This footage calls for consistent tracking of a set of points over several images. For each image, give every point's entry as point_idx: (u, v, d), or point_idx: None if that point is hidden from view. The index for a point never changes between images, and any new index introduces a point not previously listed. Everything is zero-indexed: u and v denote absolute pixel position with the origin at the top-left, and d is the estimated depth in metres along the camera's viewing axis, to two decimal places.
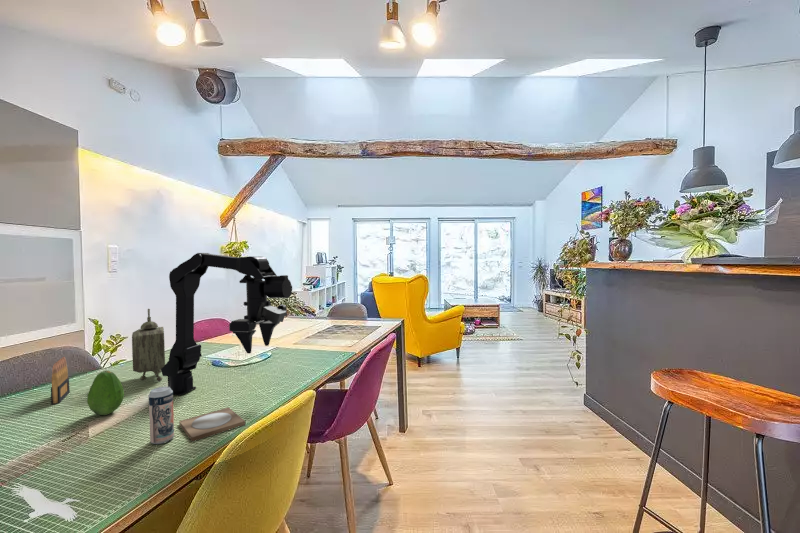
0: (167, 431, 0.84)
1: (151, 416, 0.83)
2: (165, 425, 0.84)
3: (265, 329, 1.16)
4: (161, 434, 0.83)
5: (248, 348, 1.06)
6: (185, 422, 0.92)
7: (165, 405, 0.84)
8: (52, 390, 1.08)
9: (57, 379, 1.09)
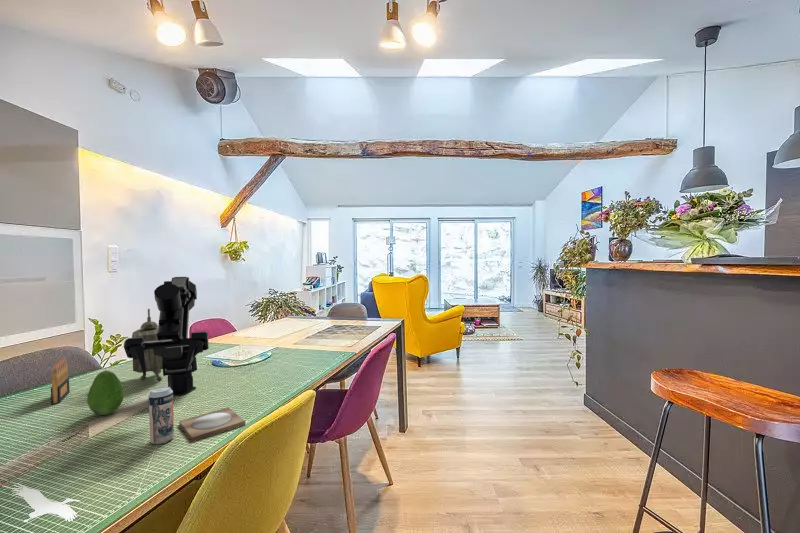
0: (167, 431, 0.84)
1: (151, 416, 0.83)
2: (165, 425, 0.84)
3: (145, 356, 0.94)
4: (161, 434, 0.83)
5: (190, 364, 0.96)
6: (185, 422, 0.92)
7: (165, 405, 0.84)
8: (52, 390, 1.08)
9: (57, 379, 1.09)
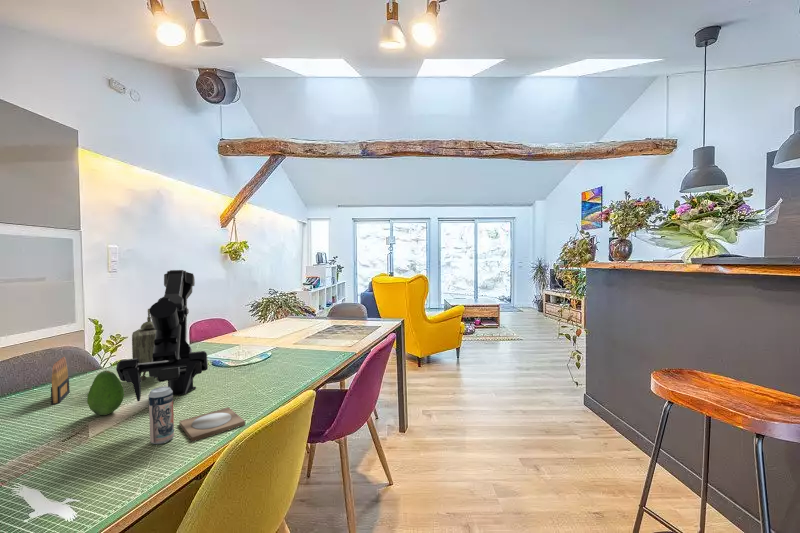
0: (167, 431, 0.84)
1: (151, 416, 0.83)
2: (165, 425, 0.84)
3: (139, 379, 0.87)
4: (161, 434, 0.83)
5: (187, 387, 0.90)
6: (185, 422, 0.92)
7: (165, 405, 0.84)
8: (52, 390, 1.08)
9: (57, 379, 1.09)
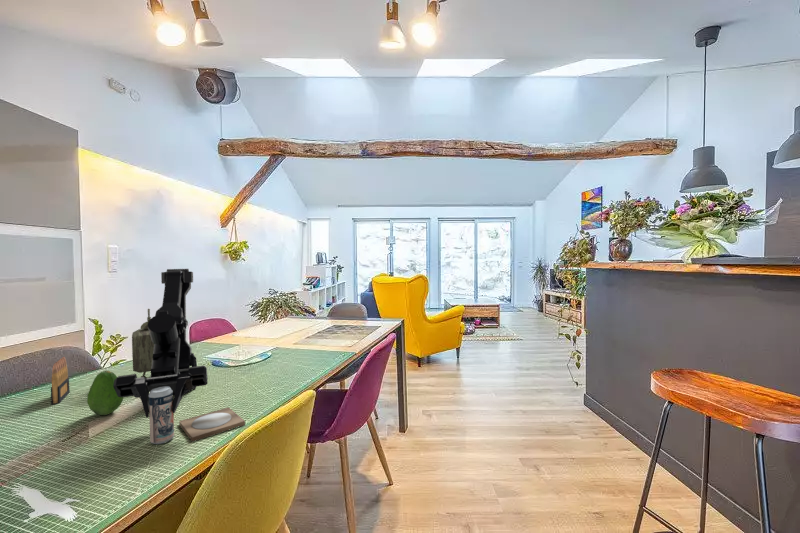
0: (167, 431, 0.84)
1: (151, 416, 0.83)
2: (165, 425, 0.84)
3: (147, 395, 0.86)
4: (161, 434, 0.83)
5: (177, 406, 0.87)
6: (185, 422, 0.92)
7: (165, 405, 0.84)
8: (52, 390, 1.08)
9: (57, 379, 1.09)
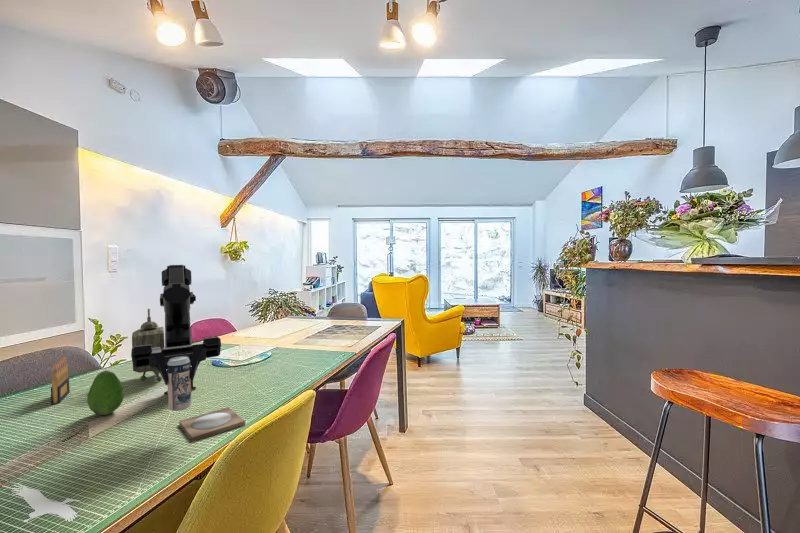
0: (186, 398, 0.87)
1: (170, 384, 0.85)
2: (184, 392, 0.86)
3: None
4: (180, 401, 0.86)
5: (194, 374, 0.89)
6: (185, 422, 0.92)
7: (184, 373, 0.86)
8: (52, 390, 1.08)
9: (57, 379, 1.09)
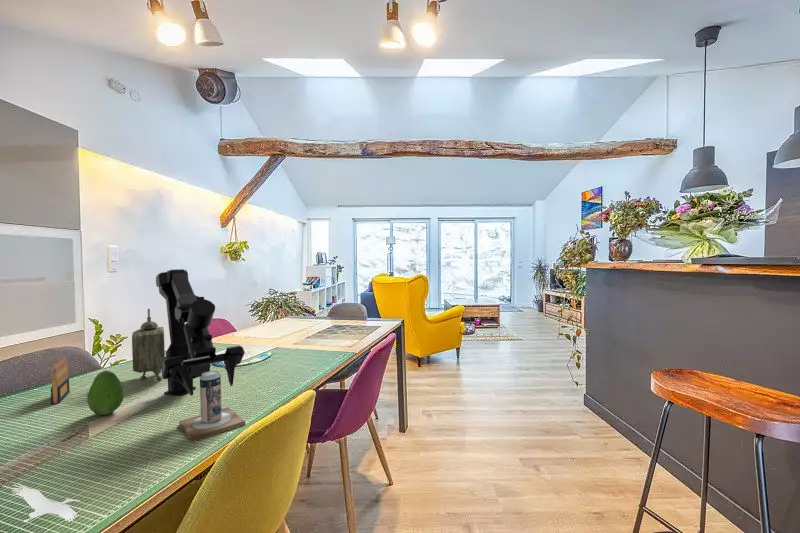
0: (219, 410, 0.93)
1: (205, 397, 0.91)
2: (217, 404, 0.92)
3: None
4: (214, 413, 0.92)
5: None
6: (185, 422, 0.92)
7: (217, 386, 0.92)
8: (52, 390, 1.08)
9: (57, 379, 1.09)
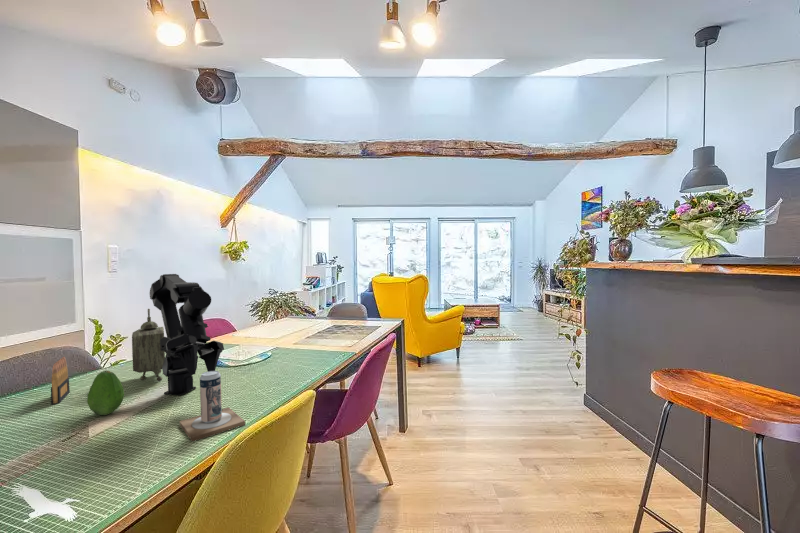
0: (219, 410, 0.93)
1: (205, 397, 0.91)
2: (217, 404, 0.92)
3: None
4: (214, 413, 0.92)
5: None
6: (185, 422, 0.92)
7: (217, 386, 0.92)
8: (52, 390, 1.08)
9: (57, 379, 1.09)
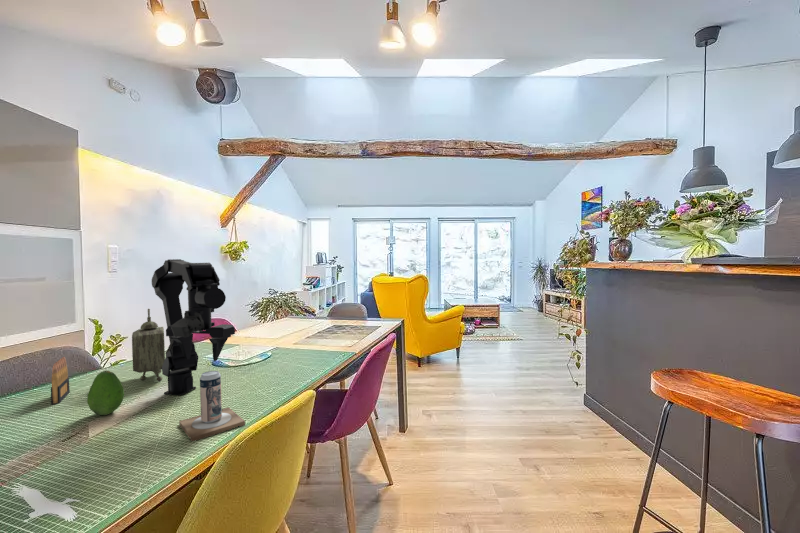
0: (219, 410, 0.93)
1: (205, 397, 0.91)
2: (217, 405, 0.92)
3: None
4: (214, 413, 0.92)
5: None
6: (185, 422, 0.92)
7: (217, 386, 0.92)
8: (52, 390, 1.08)
9: (57, 379, 1.09)
